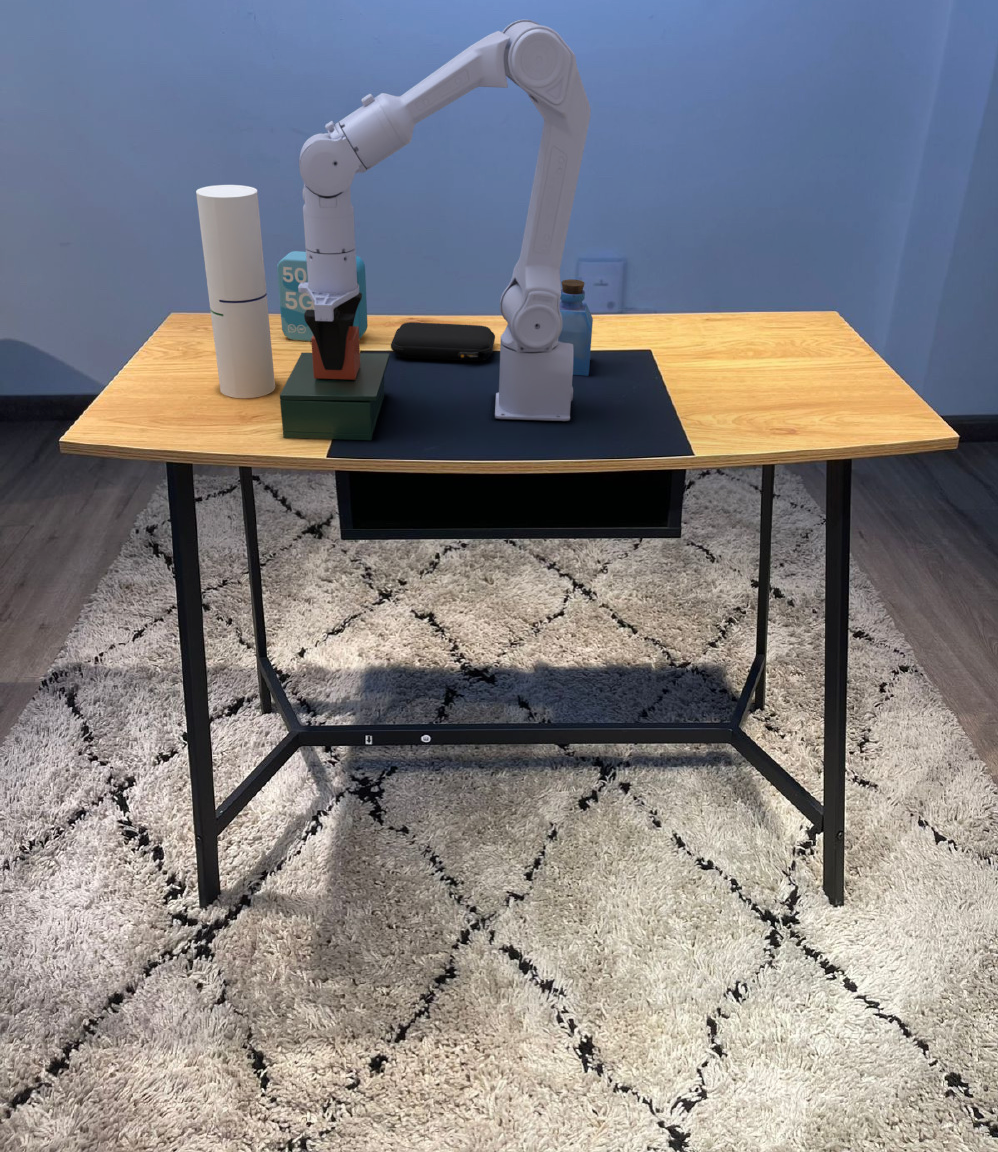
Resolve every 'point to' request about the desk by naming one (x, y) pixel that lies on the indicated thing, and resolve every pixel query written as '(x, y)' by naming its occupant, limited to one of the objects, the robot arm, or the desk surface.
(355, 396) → the bin lid
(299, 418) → the bin
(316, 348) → the block
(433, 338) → the carrying case
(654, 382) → the desk surface
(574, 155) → the robot arm
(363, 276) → the data package
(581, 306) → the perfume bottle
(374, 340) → the desk surface
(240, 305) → the cylindrical container
